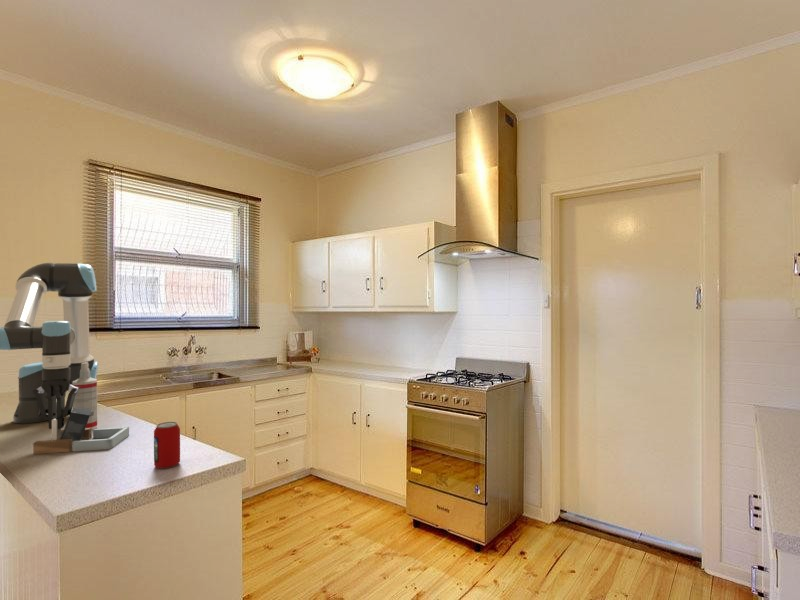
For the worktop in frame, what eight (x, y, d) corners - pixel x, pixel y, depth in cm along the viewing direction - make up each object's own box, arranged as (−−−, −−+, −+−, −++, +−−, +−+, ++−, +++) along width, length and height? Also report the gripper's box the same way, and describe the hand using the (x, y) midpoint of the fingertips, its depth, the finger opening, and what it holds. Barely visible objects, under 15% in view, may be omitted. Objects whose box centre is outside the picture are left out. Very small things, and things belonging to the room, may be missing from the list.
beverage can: (160, 461, 133) (160, 421, 133) (184, 460, 133) (183, 420, 133) (149, 470, 126) (149, 427, 126) (174, 469, 126) (174, 427, 127)
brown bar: (59, 439, 156) (59, 429, 156) (91, 437, 157) (91, 427, 157) (33, 454, 141) (33, 442, 141) (69, 451, 143) (69, 440, 143)
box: (78, 446, 148) (90, 414, 150) (58, 444, 145) (70, 411, 147) (80, 440, 155) (92, 410, 156) (61, 437, 152) (73, 407, 154)
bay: (94, 437, 158) (94, 429, 158) (129, 435, 160) (129, 427, 160) (72, 451, 143) (72, 441, 143) (110, 448, 145) (110, 439, 145)
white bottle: (96, 429, 168) (96, 363, 168) (72, 432, 164) (71, 364, 164) (97, 424, 174) (97, 360, 175) (74, 427, 170) (73, 362, 171)
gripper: (27, 369, 144) (27, 443, 144) (72, 368, 146) (72, 440, 146) (41, 366, 151) (41, 436, 151) (83, 365, 154) (84, 433, 153)
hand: (56, 438), depth 148 cm, fingers closed
